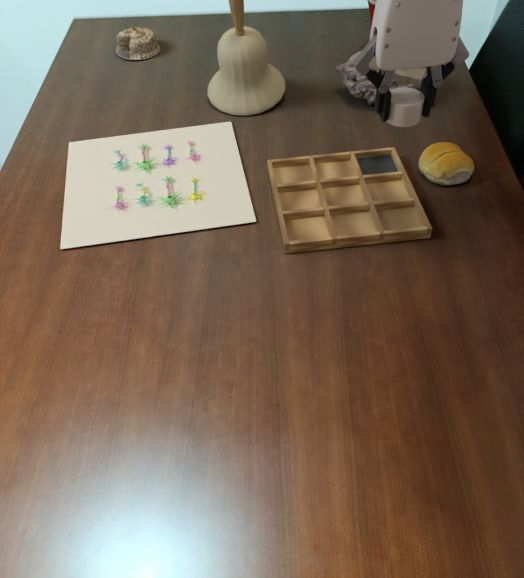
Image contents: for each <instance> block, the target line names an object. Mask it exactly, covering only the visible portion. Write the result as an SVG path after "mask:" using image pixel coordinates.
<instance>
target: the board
mask: <svg viewBox="0 0 524 578" xmlns="http://www.w3.org/2000/svg"><path fill="white" fill-rule="evenodd" d="M266 162H267V164H266V165H267V166H266V167H267V172H268V173H267V174H268V178H269V183H270V187H271V192H272V198H273V202H274V207H275V213H276V217H277V222H278V227H279V231H280V236H281V242H282V247H283V252H284V255H286V254H294V253H304V252H305V253H306V252H313V251H314V252H315V251H324V250H333V249H343V248H349V247H361V246H369V245H378V244H387V243H396V242H397V243H398V242H405V241H407V242H408V241H416V240H424V239H430V238H431V235H432V232H433V226H432V225H431V223H430V220H429V218H428V216H427V213H426V212H425V210H424V208H423V205H422V203H421V201H420V199H419V197H418V195H417V192H416V190H415V188H414V185H413V184H412V181H411V179H410V178H409V176H408V173H407V170H406V169H405V167H404V164H403V162H402V160H401V158H400V155H399V153H398V151H397V150H396V147H395V146H392V147H382V148H381V147H380V148H372V149H362V150H361V149H360V150H351V151H343V152H342V151H341V152H333V153H323V154H313V155H303V156H295V157H294V156H292V157H284V158H273V159H266Z"/></svg>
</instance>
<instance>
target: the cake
mask: <svg viewBox="0 0 524 578" xmlns="http://www.w3.org/2000/svg"><path fill="white" fill-rule="evenodd" d="M158 41H159V40H158V38H157V36H156V34H155V32H154V31H153V30H152V29H150V28H146V27H140V26H138V27H137V26H133V27H128V28H127V29H123V30H121V31H119V32H118V33H117V35H116V42H117V44H116V48H115V54H116V55H117V56H118V57H120V58H122V59H124V60H129V61H140V60H147V59H150V58H153V57H155V56H157V55H158V54H159V53H160V52H161V46H160V45H159V43H158Z"/></svg>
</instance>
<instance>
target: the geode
mask: <svg viewBox="0 0 524 578" xmlns="http://www.w3.org/2000/svg"><path fill="white" fill-rule="evenodd" d="M361 51H362V50H359V51H358V52H356V53H354V54H353V55H352V56H350V58H349V59H348V60H347V61H346V62H343V63H341V64H340V65H337V66H336V68H335V70H336V72H340V73H341V76H342V78H343V81H342V84H343V85H345V88H347V89H348V92H349V94H351V95H353V96H354V97H355V98H359V99H364V100H366V101H367V105H369V106H372V104H375V97H376V87H375V86H374V85H373V84H372V83H371V82H370V81H369V80H368V78H366V77H365V76H363V75H362V74H361V73H359V72H358V71H357V70H356V69H355V67H354V65H353V62H354V60H355V59H356V58H357V56H358V55H359V54H360V53H361ZM376 59H377V58H376V57H373V59H372V60H371V61H370V63H369V65H370V66H372V67H373V68H374V69H375V70H376V71H377V70H378V67H377V63H376ZM426 76H427V74H426V67H421V68H412V69H402V70H396V72H395V74H394V77H393V79H392V82H391V84H390V87H389V90H390V91H391V90H393V89H396V88H402V87H407V88H413V89H416V90H420V87H421V81H422V80H423V78H426Z"/></svg>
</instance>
